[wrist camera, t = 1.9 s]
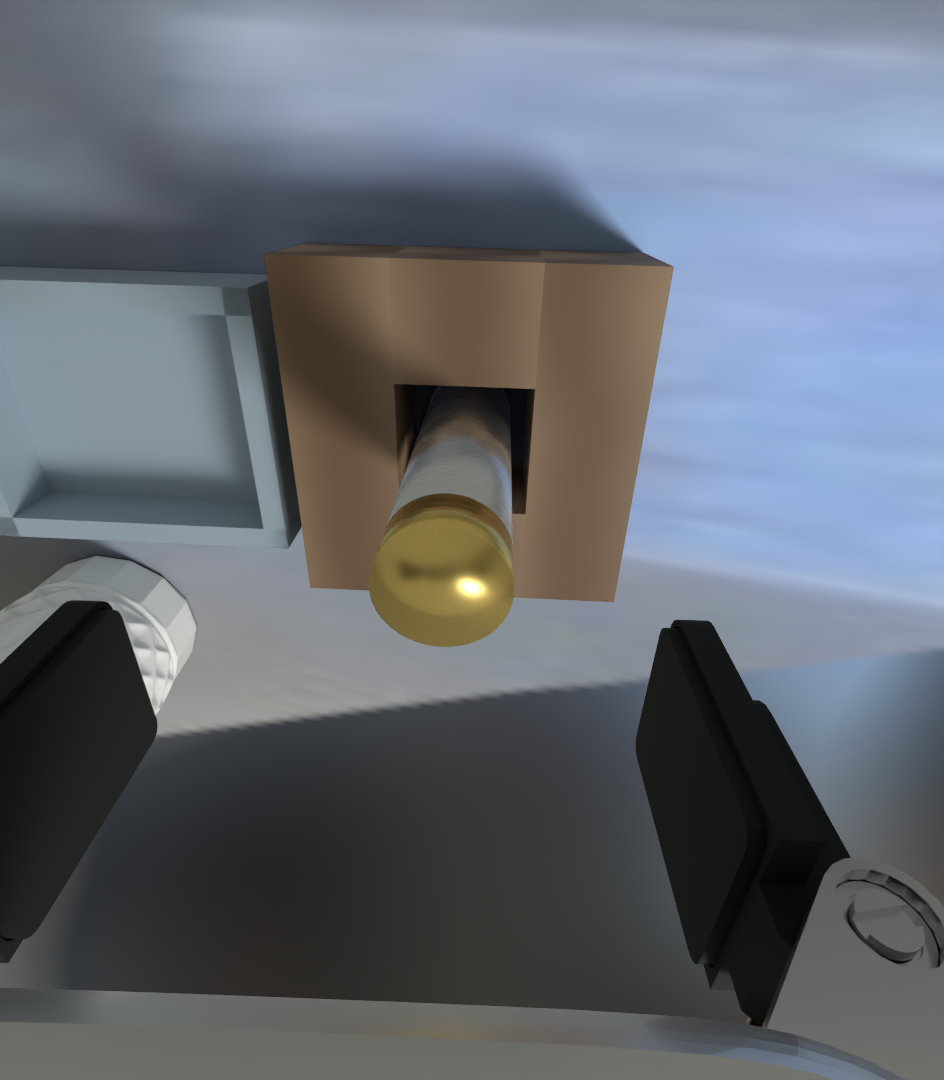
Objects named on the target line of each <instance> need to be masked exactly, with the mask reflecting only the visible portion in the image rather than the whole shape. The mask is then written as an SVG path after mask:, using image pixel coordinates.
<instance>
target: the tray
mask: <svg viewBox="0 0 944 1080" xmlns="http://www.w3.org/2000/svg"><path fill="white" fill-rule="evenodd" d="M301 527H302V524H301V517H300V510H299V503H298V496H297V489H296V482H295V475H294V467H293V460H292V453H291V446H290V439H289V432H288V425H287V418H286V411H285V404H284V396H283V389H282V382H281V375H280V368H279V361H278V354H277V347H276V340H275V332H274V325H273V318H272V311H271V304H270V297H269V290H268V283H267V276H266V275H264V274H232V273H201V272H169V271H137V270H105V269H73V268H41V267H9V266H0V536H21V537H43V538H65V539H87V540H109V541H131V542H153V543H175V544H196V545H218V546H240V547H262V548H284V549H288V548H289V547H290V545H291V543H292V542H293V540H294V538H295V537H296V535H297V533H298V532H299V530H300V528H301Z"/></svg>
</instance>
